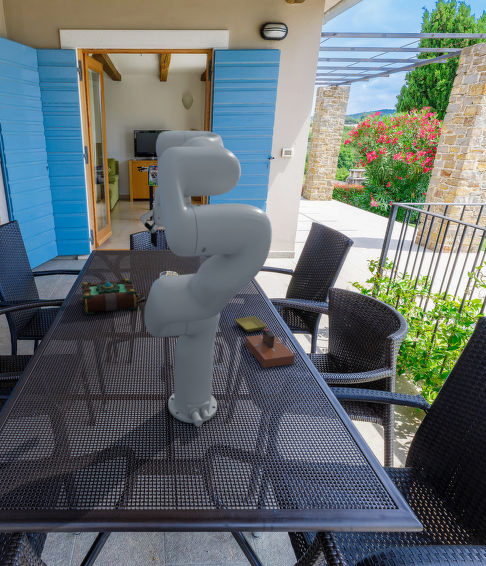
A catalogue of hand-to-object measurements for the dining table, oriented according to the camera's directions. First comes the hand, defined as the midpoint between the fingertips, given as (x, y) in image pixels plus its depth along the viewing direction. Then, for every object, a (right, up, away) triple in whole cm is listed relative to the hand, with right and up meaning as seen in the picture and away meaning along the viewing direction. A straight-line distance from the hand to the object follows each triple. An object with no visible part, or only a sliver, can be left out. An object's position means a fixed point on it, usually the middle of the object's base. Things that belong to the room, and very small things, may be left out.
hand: (171, 244), depth 106 cm
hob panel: (+31, -34, +16) cm, 48 cm away
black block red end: (+31, -30, +15) cm, 46 cm away
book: (-23, -19, +52) cm, 61 cm away
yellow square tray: (+29, -27, +32) cm, 51 cm away
